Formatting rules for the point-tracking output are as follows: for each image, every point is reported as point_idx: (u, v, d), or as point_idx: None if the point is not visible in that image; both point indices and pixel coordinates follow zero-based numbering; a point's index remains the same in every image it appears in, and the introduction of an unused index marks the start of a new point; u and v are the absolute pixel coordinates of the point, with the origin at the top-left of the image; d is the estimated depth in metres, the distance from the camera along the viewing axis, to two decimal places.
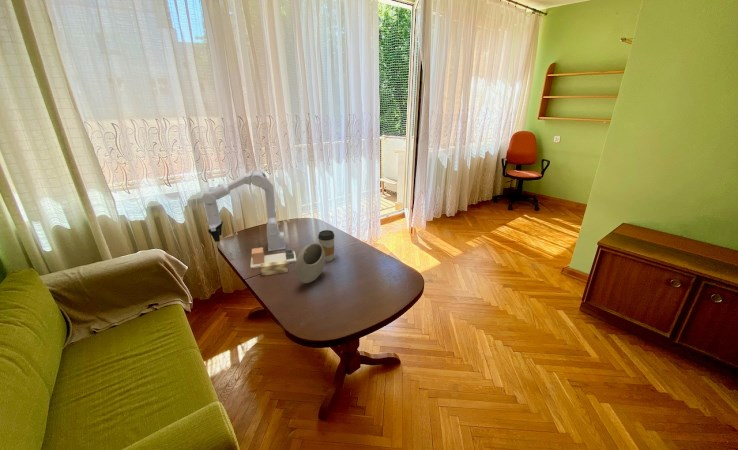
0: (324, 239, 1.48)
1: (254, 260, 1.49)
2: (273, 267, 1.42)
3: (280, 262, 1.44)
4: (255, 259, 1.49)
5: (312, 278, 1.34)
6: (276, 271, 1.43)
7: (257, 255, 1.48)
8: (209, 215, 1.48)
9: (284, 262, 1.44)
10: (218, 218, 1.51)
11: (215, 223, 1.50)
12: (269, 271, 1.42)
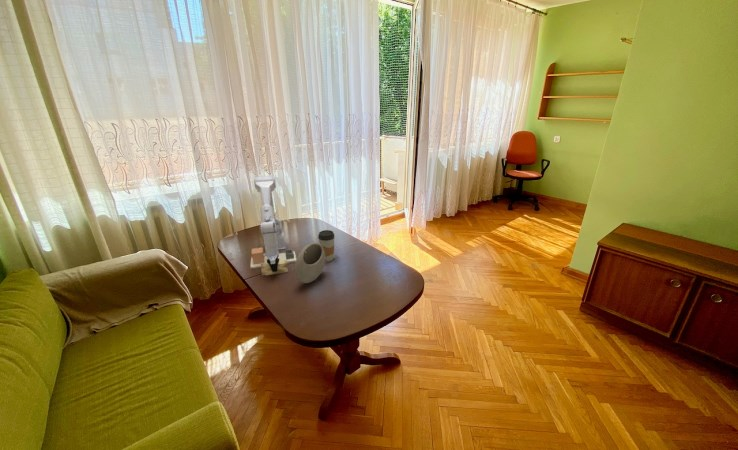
0: (324, 239, 1.48)
1: (254, 260, 1.49)
2: None
3: (280, 262, 1.44)
4: (255, 259, 1.49)
5: (312, 278, 1.34)
6: None
7: (257, 255, 1.48)
8: (276, 244, 1.38)
9: (284, 262, 1.44)
10: (276, 249, 1.39)
11: (274, 254, 1.38)
12: (269, 271, 1.42)
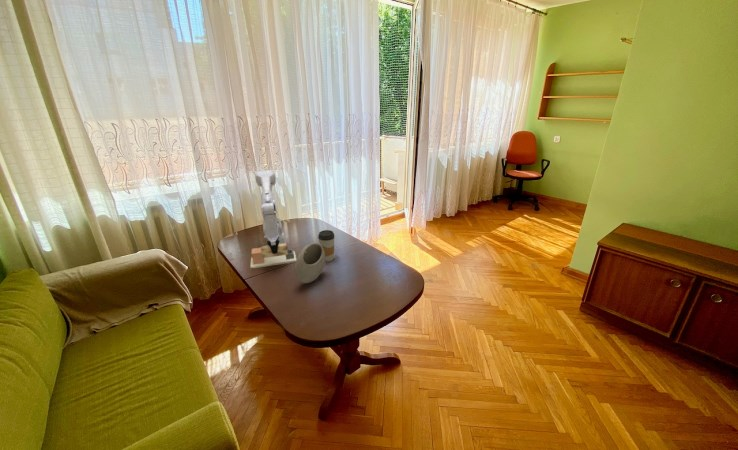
0: (324, 239, 1.48)
1: (254, 260, 1.49)
2: None
3: (280, 245, 1.46)
4: (255, 259, 1.49)
5: (312, 278, 1.34)
6: None
7: (257, 255, 1.48)
8: (276, 226, 1.41)
9: (284, 245, 1.46)
10: (277, 231, 1.41)
11: (274, 236, 1.40)
12: (269, 254, 1.44)
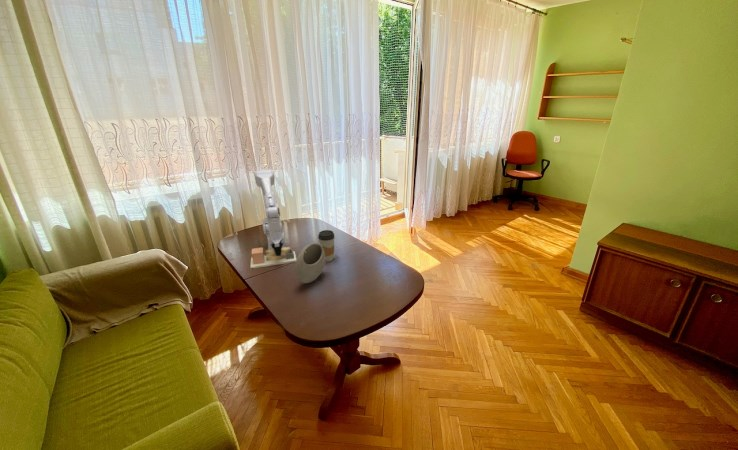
0: (324, 239, 1.48)
1: (254, 260, 1.49)
2: None
3: (284, 248, 1.54)
4: (255, 259, 1.49)
5: (312, 278, 1.34)
6: (280, 256, 1.54)
7: (257, 255, 1.48)
8: (280, 228, 1.49)
9: (287, 248, 1.54)
10: (280, 233, 1.49)
11: (277, 238, 1.48)
12: (273, 257, 1.53)
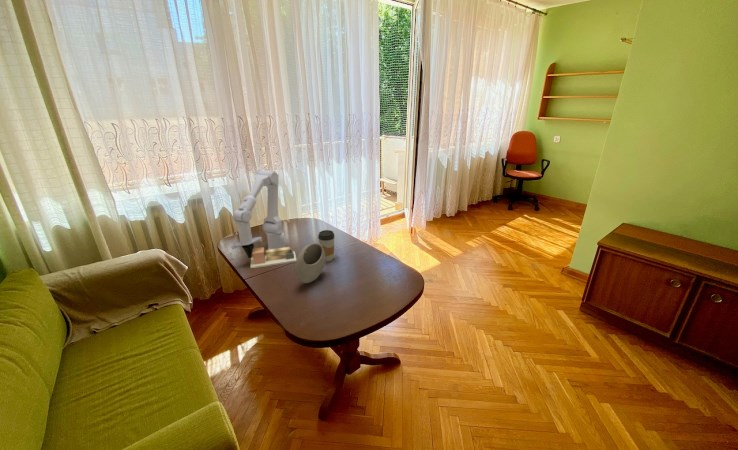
0: (324, 239, 1.48)
1: (255, 260, 1.49)
2: (277, 253, 1.52)
3: (284, 248, 1.54)
4: (256, 258, 1.49)
5: (312, 278, 1.34)
6: (280, 256, 1.54)
7: (258, 255, 1.48)
8: (247, 233, 1.43)
9: (287, 248, 1.54)
10: (244, 239, 1.43)
11: (241, 242, 1.44)
12: (273, 257, 1.53)
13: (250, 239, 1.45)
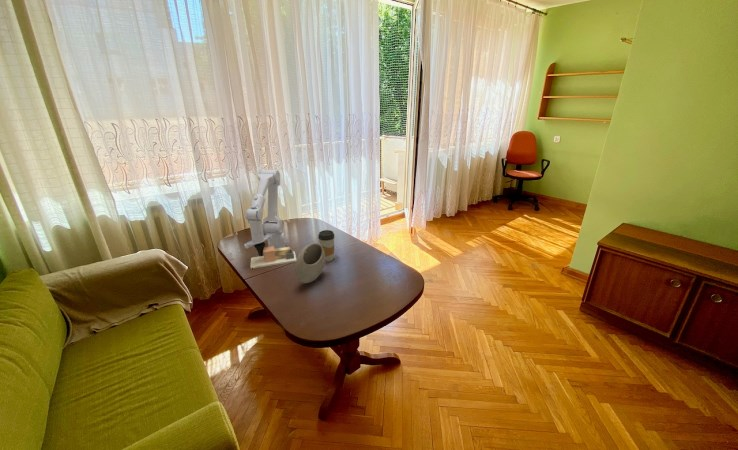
0: (324, 239, 1.48)
1: (266, 258, 1.50)
2: (277, 253, 1.52)
3: (284, 248, 1.54)
4: (267, 257, 1.50)
5: (312, 278, 1.34)
6: (280, 256, 1.54)
7: (269, 253, 1.50)
8: (260, 231, 1.45)
9: (287, 248, 1.54)
10: (257, 237, 1.45)
11: (254, 241, 1.46)
12: None
13: (263, 237, 1.47)
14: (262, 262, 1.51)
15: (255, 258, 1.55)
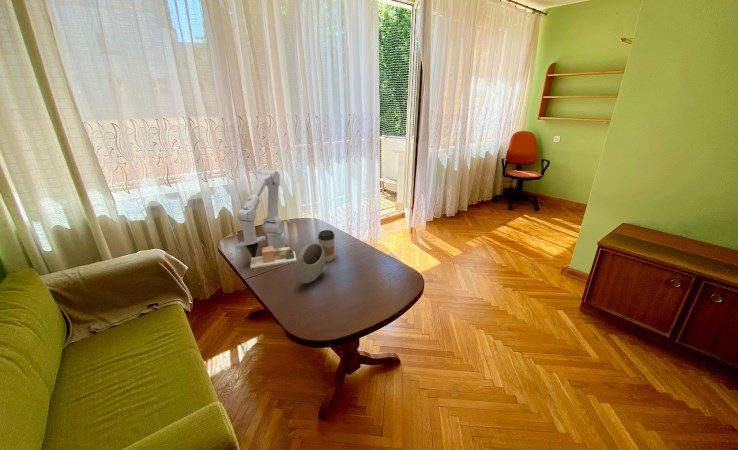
0: (324, 239, 1.48)
1: (265, 258, 1.50)
2: (277, 253, 1.52)
3: (284, 248, 1.54)
4: (266, 257, 1.50)
5: (312, 278, 1.34)
6: (280, 256, 1.54)
7: (268, 253, 1.50)
8: (252, 233, 1.43)
9: (287, 248, 1.54)
10: (249, 238, 1.44)
11: (245, 242, 1.45)
12: None
13: (255, 238, 1.46)
14: (262, 262, 1.51)
15: (255, 258, 1.55)
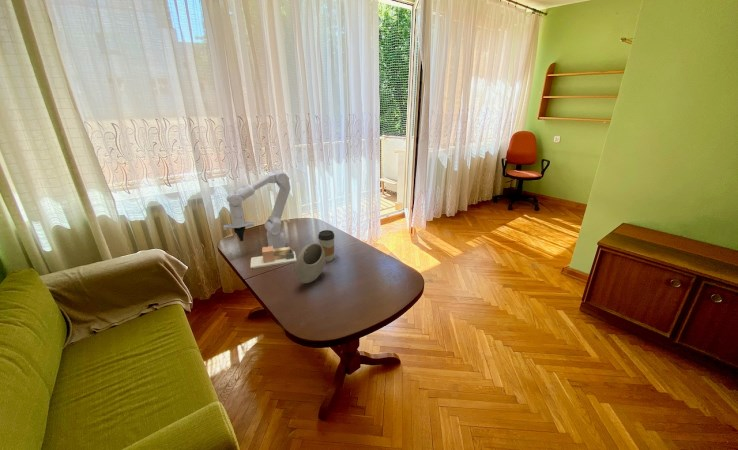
0: (324, 239, 1.48)
1: (265, 258, 1.50)
2: (277, 253, 1.52)
3: (284, 248, 1.54)
4: (266, 257, 1.50)
5: (312, 278, 1.34)
6: (280, 256, 1.54)
7: (268, 253, 1.50)
8: (236, 217, 1.48)
9: (287, 248, 1.54)
10: (234, 221, 1.49)
11: (232, 224, 1.51)
12: None
13: (240, 223, 1.50)
14: (262, 262, 1.51)
15: (255, 258, 1.55)
